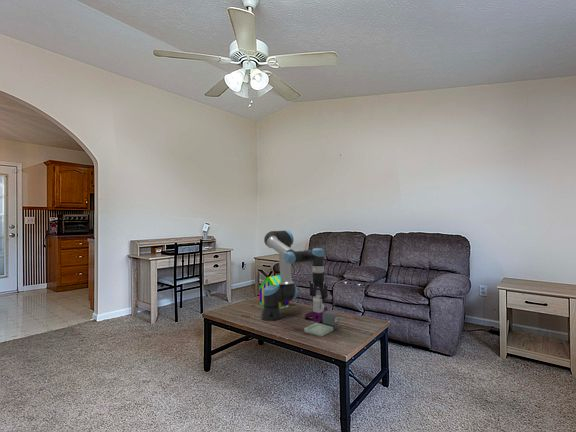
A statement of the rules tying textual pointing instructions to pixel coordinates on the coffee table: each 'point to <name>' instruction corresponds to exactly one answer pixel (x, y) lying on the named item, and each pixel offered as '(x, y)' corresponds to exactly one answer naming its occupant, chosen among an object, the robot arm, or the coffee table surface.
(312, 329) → the tray
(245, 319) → the coffee table surface
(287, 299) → the robot arm
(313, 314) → the mounting bracket
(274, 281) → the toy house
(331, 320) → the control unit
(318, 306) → the module
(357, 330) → the coffee table surface
